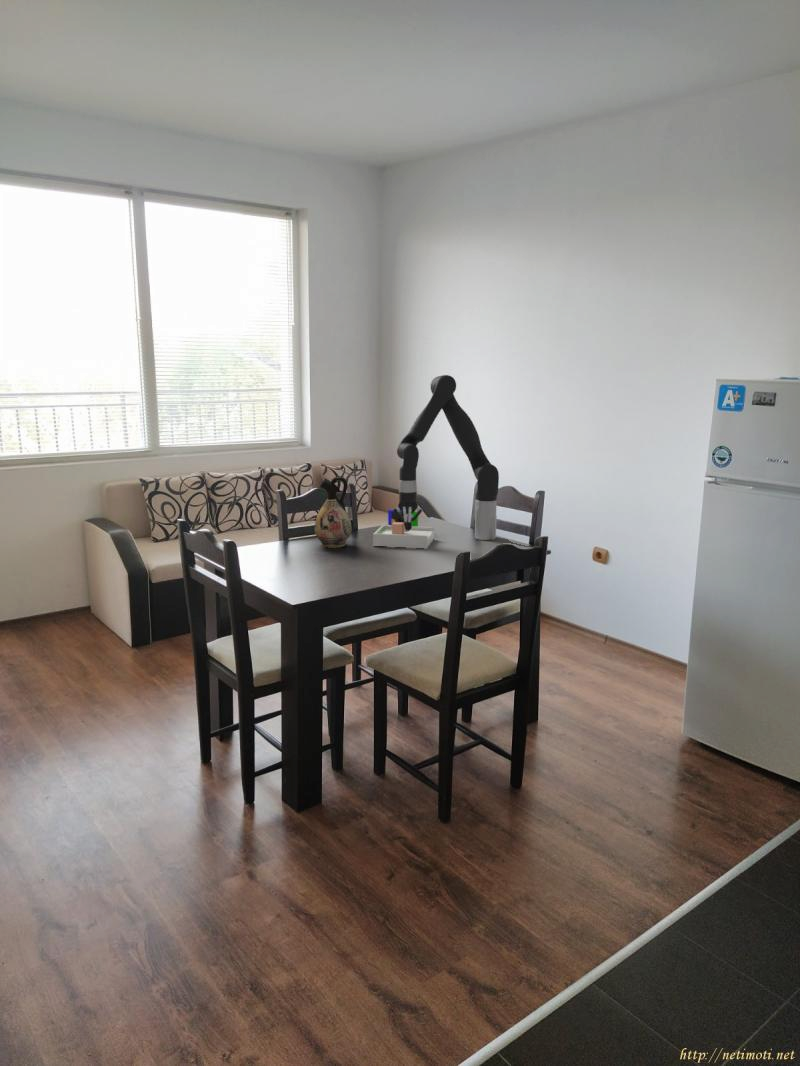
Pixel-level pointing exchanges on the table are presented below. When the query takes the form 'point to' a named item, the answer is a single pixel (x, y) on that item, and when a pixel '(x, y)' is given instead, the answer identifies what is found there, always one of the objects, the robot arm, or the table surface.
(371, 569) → the table surface
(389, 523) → the puzzle toy
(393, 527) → the block
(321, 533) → the ceramic jug
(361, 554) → the table surface
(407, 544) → the box
